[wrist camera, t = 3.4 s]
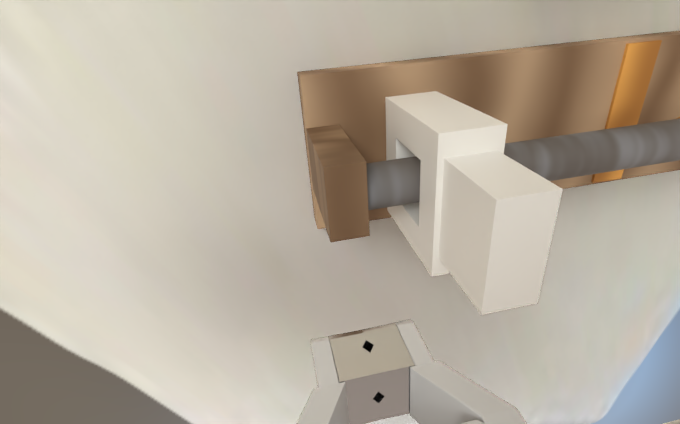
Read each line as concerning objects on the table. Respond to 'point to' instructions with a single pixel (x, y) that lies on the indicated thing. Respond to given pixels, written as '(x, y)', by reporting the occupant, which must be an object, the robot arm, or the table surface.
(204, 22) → the table surface
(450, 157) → the collar
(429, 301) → the table surface
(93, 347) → the table surface
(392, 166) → the pipe stand
